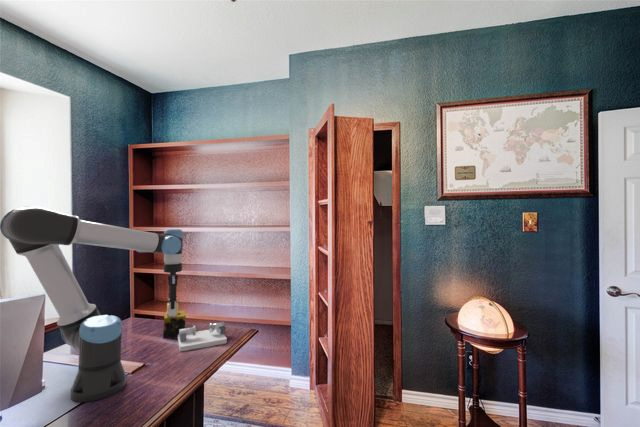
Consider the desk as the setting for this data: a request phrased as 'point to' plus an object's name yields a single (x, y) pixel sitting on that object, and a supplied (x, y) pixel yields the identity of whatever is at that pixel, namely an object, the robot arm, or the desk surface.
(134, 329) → the desk surface
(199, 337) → the shaft base
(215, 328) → the shaft out
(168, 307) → the coupler
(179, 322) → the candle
